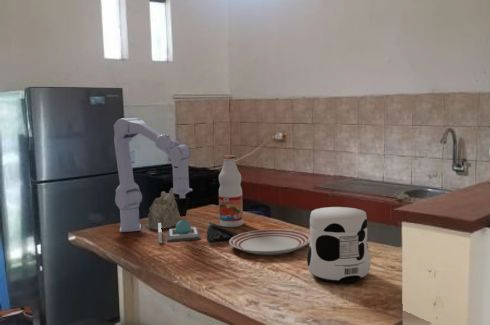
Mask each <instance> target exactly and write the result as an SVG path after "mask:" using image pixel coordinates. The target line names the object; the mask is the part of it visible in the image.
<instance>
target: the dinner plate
mask: <svg viewBox="0 0 490 325" xmlns="http://www.w3.org/2000/svg"><path fill="white" fill-rule="evenodd" d="M228 243H229V245H230V246H231V247H233V248H235V249H238V250H240V251H243V252H246V253H249V254H253V255H257V256H258V255H259V256H278V255H284V254H285V255H286V254H289V253H291V252H294V251H296V250H300V249H301V248H303V247H306V246H307V245H308V244H310V235H308V234H307V233H304V232H302V231H298V230H292V229H281V228H279V229H278V228H277V229H276V228H274V229H273V228H272V229H268V228H267V229H257V230H251V231H246V232H242V233H238V235H236V236H234V237H232V238H231V239H230V240H229V242H228Z"/></svg>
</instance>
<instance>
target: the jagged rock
mask: <svg viewBox="0 0 490 325" xmlns="http://www.w3.org/2000/svg"><path fill="white" fill-rule="evenodd" d="M173 194H174V192H173V187H171V188H170V190H169V191H168V192H166V191H161V193H160V197H157V198H154V200H153V202H152V204H151V205H150V207H149V213H148V214H147V217H148V218H147V221H146V225H145V228H146V229H152V230H158V223H161V228H162V229H168V228H172V227H176V224H177V223H178V222H179V221H181V220H180V219H181V218H180V215H179V210H178V206H177V203H176V201H175V199H174V197H175V196H174V195H173Z"/></svg>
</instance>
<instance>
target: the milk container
mask: <svg viewBox="0 0 490 325" xmlns="http://www.w3.org/2000/svg"><path fill="white" fill-rule="evenodd" d="M309 236H310V242H309V246H308V250H307V255H306V264H307V268H308V271H309V272H310V274H311V275H312V276H314V278H315V277H316V278H317V279H319V280H321V281H322V280H323V281H326V282H333V283H351V282H357V281H359V280H362V279H364V278H365V277H366V276H368V274H369V272H370V269H371V254H370V250H369V246H368V218H367V212H366V211H365V210H363V209H358V208H354V207H343V206H330V207H329V206H328V207H320V208H315V209H313V210H312V211H311V212H310V217H309Z"/></svg>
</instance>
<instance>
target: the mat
mask: <svg viewBox="0 0 490 325" xmlns="http://www.w3.org/2000/svg"><path fill="white" fill-rule="evenodd" d="M166 239H167V243H168V242H169V243H170V241H171V242H182V241H194V240H195V241H197V240H202V237H201V234H200V231H199V229H197V227H196V226H195V227H191V226H190V231H189V233H188V234H178V233H177V231H176V228H169V229H168V231H166Z"/></svg>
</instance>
